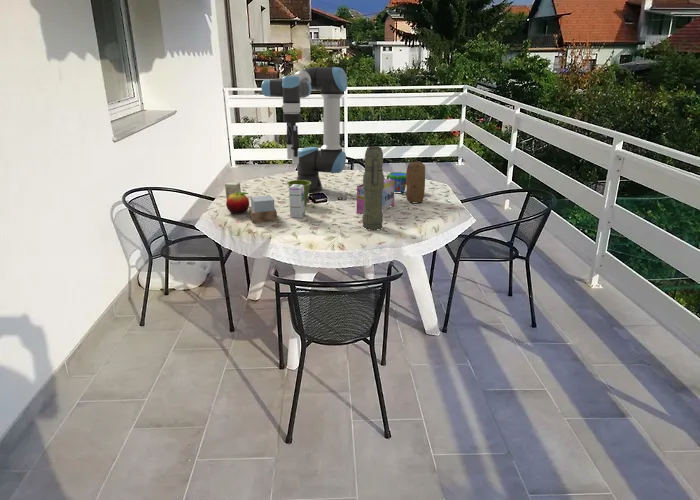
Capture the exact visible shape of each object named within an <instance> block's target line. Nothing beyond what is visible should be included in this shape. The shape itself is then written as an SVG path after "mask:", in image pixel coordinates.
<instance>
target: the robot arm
mask: <svg viewBox="0 0 700 500" xmlns="http://www.w3.org/2000/svg"><path fill="white" fill-rule="evenodd" d="M347 87H348V78H347V74H346V71H345V70H344V69H343V68H342V67H336V66H321V67H320V66H313V67H309V68H305V69H301V70H298V71H296V73H294V74H291V75H284V76H283V77H280V78H275V79H264V80H263V81H262V83H261V93H262V95H263V96H264V97H269V98H282V103H283V104H282V105H281V108H282V112H283V115H282V118H283V119H282V121H283V123H286V135H285V142H286V157H287V160H291V161H292V165H297V168H296V169H297V177H296V180H306V181H310V182H311V184H310V188H309V192H308V194H309V193H317V192H320V191H322V190H323V184H322V181H321V178H320V175H319V174H320V173H328V174H329V173H330V174H341V173H342V171H343V170H344V168H345V166H346V161H347V153H346V152H345V151H343V146H342V145H340V135H341V134H340V131H341V128H340V126H341V125H340V124H341V121H340V118H341V98H342V96H343V95H344V92H346V90H347V89H348V88H347ZM312 91H319V92H320V96H321V97H322V99H323V145H322V146H321V147H320V148H319V147H317V146H307V147H302V148H300V142H299V141H300V140H299V129H298V125H297V123H300V122H301V99H304V98H307V97H309V96H310V95H311V93H312ZM319 149H320V150H319Z"/></svg>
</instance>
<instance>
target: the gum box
mask: <svg viewBox="0 0 700 500" xmlns="http://www.w3.org/2000/svg"><path fill="white" fill-rule="evenodd" d="M392 205H394V206H395V193H394V179H393V180H390V178H389V179H387V178H385V177H384V188H383V190H382V210H383V211H385V210H387V209H389V208H388V207H390V206H392ZM392 207H393V206H392ZM386 208H387V209H386ZM390 208H391V207H390ZM384 209H385V210H384ZM363 210H364V189H363V183H362V184H359V185H356V214H357V213H360V214H359V215H361V214H363Z"/></svg>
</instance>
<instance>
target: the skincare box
mask: <svg viewBox="0 0 700 500" xmlns="http://www.w3.org/2000/svg"><path fill="white" fill-rule="evenodd" d="M224 189H225V190H224V191H225V197H226V199H225V200H227V199H228V197H229V195H230V194H233V193H236V192H238V193H241V192H242V190H241V183H240V182H230V181H229V182H227V183H224Z"/></svg>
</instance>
